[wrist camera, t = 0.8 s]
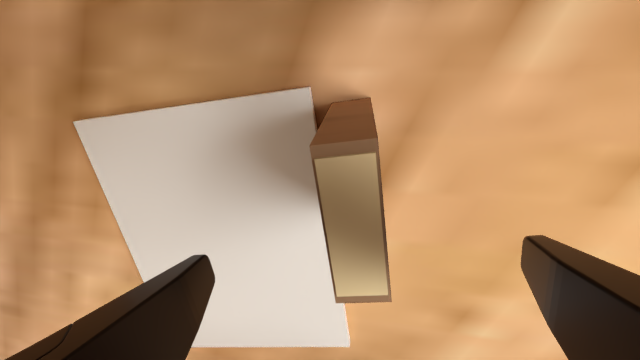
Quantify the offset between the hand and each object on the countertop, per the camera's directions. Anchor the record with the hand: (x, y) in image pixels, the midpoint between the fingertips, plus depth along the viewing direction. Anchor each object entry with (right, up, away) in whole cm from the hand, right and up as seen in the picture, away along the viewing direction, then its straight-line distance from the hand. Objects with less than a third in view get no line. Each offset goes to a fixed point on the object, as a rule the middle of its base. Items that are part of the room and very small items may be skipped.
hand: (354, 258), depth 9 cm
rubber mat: (-7, -2, +12) cm, 14 cm away
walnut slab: (+1, +4, +8) cm, 9 cm away
